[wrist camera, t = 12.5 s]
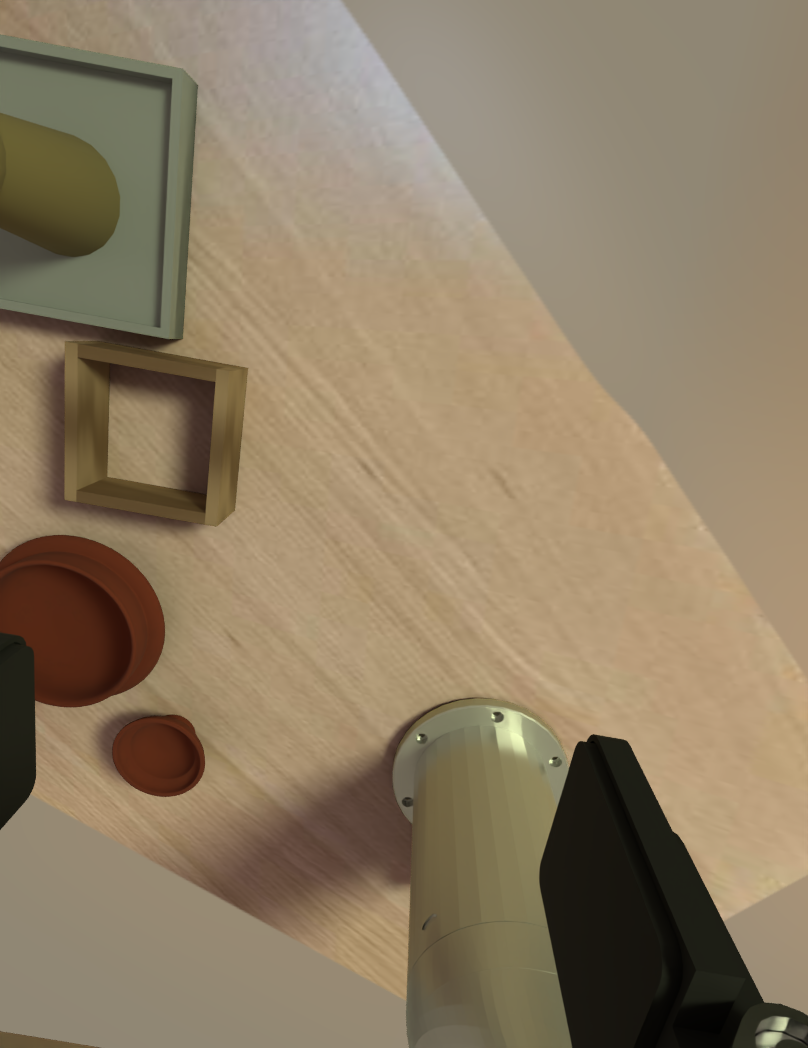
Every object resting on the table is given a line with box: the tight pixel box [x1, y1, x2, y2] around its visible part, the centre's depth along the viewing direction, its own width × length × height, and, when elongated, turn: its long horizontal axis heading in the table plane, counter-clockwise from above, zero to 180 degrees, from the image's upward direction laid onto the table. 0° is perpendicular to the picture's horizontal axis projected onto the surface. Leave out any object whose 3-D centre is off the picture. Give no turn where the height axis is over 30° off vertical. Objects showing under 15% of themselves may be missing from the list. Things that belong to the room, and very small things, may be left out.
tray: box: [0, 35, 198, 339], centre depth 33 cm, size 13×13×2 cm
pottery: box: [0, 535, 205, 797], centre depth 40 cm, size 12×20×4 cm, turn 25°
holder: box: [64, 341, 248, 527], centre depth 36 cm, size 9×9×4 cm
